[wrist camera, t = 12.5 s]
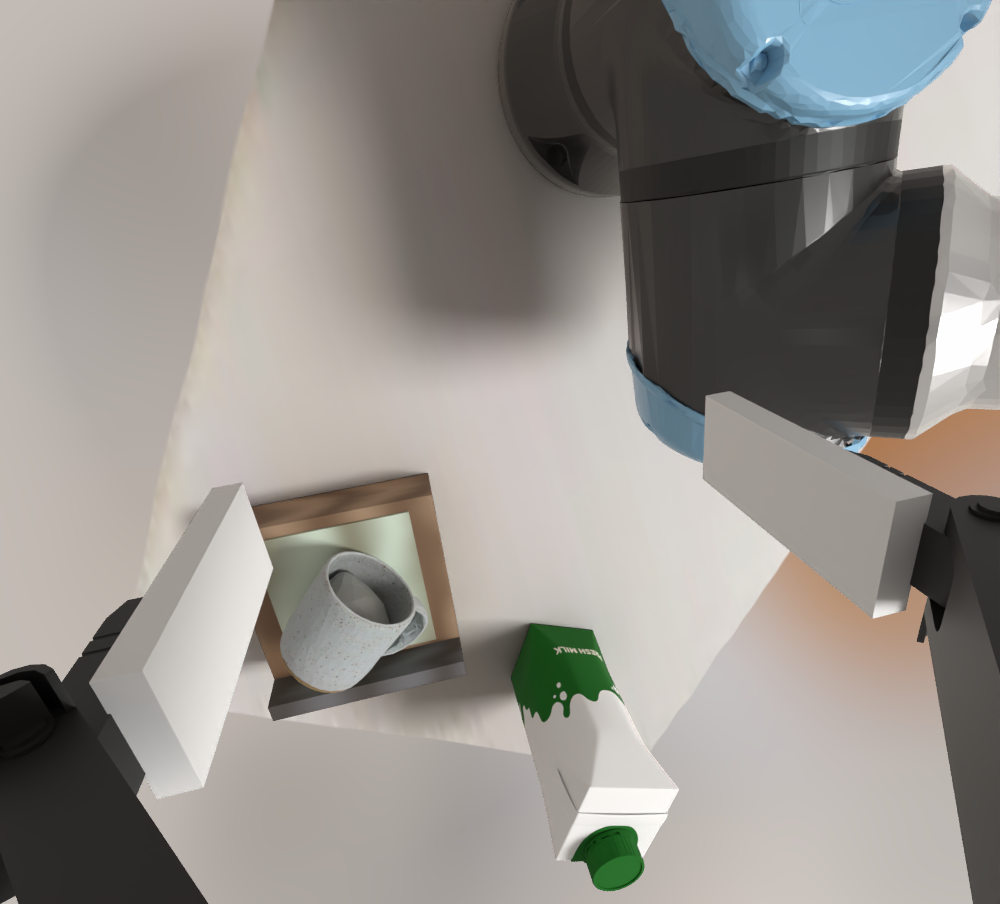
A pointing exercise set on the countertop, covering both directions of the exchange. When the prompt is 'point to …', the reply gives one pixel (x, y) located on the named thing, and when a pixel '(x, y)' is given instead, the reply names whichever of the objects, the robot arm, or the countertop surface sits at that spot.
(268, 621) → the step
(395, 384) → the countertop surface
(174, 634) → the robot arm
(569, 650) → the milk carton
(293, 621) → the ceramic mug
